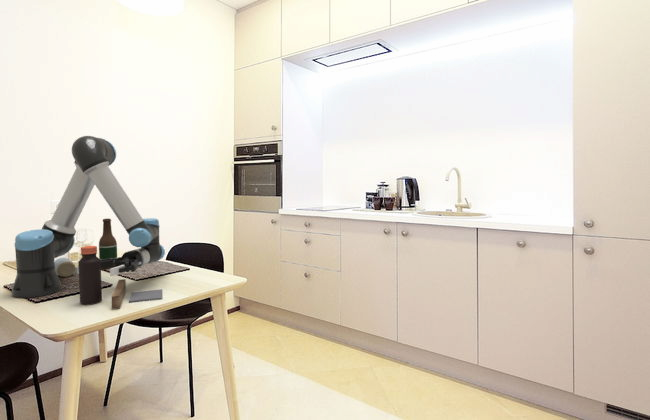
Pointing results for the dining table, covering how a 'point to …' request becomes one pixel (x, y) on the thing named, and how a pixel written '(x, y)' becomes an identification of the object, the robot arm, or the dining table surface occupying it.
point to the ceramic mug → (65, 267)
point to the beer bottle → (107, 243)
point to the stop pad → (145, 295)
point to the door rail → (118, 294)
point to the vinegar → (90, 276)
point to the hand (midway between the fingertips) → (94, 271)
